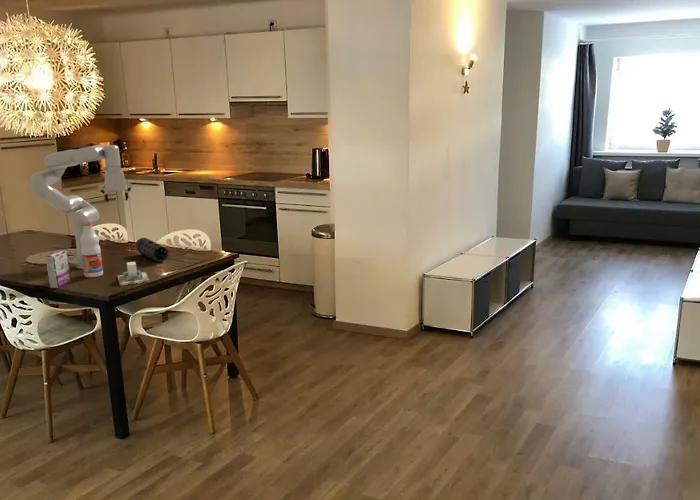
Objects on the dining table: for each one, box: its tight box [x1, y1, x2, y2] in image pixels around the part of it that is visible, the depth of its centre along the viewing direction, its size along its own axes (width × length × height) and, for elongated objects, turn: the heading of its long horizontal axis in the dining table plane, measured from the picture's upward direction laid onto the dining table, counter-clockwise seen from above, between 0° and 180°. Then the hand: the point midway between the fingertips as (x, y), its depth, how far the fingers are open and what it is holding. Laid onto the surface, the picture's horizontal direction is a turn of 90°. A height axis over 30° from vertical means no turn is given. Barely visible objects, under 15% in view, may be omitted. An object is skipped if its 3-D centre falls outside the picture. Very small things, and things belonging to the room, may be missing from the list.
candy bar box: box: [45, 250, 72, 289], centre depth 317 cm, size 11×5×16 cm, turn 170°
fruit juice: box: [80, 222, 104, 278], centre depth 332 cm, size 9×9×28 cm
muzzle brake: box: [134, 237, 170, 264], centre depth 365 cm, size 10×28×10 cm, turn 39°
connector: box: [126, 261, 138, 277], centre depth 325 cm, size 4×6×8 cm, turn 23°
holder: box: [116, 269, 150, 287], centre depth 325 cm, size 14×16×3 cm
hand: (117, 201), depth 342 cm, fingers open, 9 cm apart
